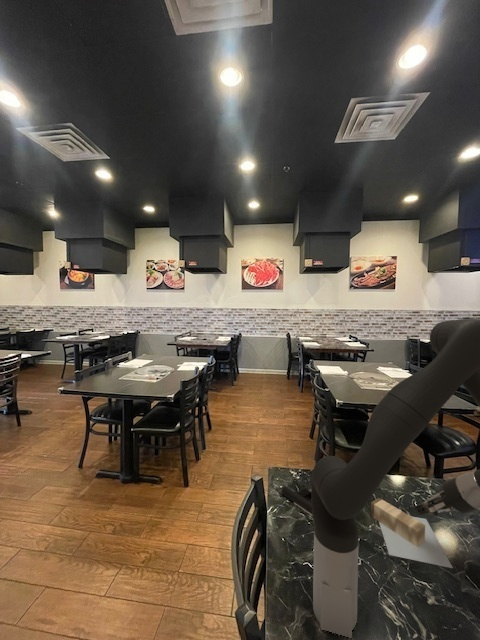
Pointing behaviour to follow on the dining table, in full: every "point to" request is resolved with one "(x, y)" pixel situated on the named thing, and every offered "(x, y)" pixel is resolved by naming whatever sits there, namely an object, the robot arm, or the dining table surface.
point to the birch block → (398, 521)
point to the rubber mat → (424, 552)
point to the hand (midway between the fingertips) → (417, 510)
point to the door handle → (299, 498)
